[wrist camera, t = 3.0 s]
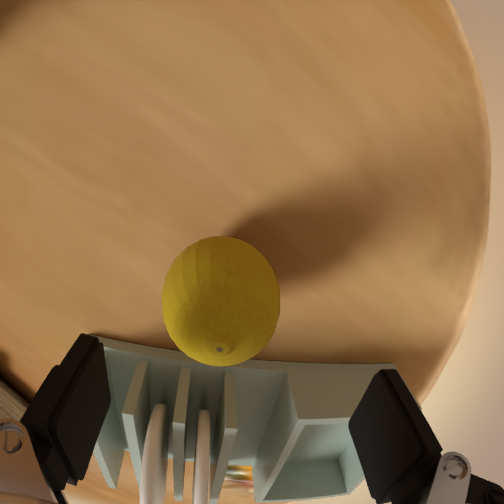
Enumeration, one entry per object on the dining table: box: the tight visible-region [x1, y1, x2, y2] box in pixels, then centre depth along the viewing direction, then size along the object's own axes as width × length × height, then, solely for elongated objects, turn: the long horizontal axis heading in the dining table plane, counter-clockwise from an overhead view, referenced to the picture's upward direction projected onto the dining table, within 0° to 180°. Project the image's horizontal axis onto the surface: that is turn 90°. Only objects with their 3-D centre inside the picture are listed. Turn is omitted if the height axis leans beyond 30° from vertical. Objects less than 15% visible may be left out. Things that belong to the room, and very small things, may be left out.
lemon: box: [162, 236, 280, 366], centre depth 15 cm, size 6×6×8 cm
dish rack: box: [88, 334, 422, 504], centre depth 18 cm, size 14×24×12 cm, turn 80°
